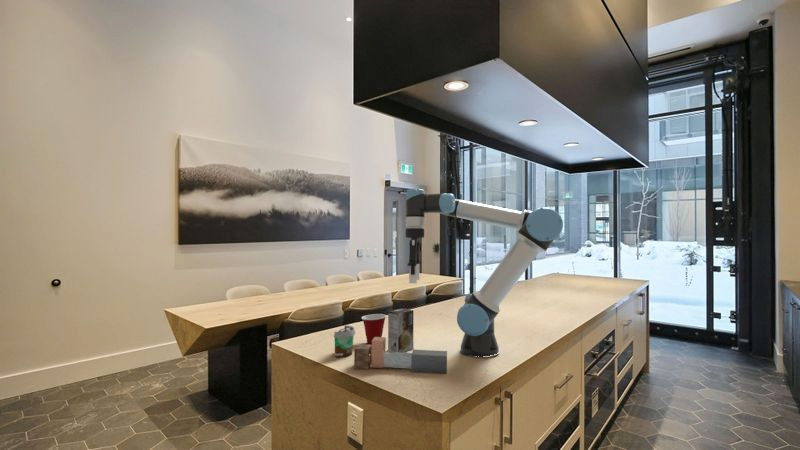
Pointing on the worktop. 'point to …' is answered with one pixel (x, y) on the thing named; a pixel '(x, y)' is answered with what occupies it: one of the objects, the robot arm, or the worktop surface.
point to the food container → (344, 342)
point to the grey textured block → (362, 356)
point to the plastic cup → (373, 326)
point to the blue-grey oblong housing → (429, 361)
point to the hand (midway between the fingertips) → (414, 281)
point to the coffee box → (400, 330)
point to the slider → (387, 356)
